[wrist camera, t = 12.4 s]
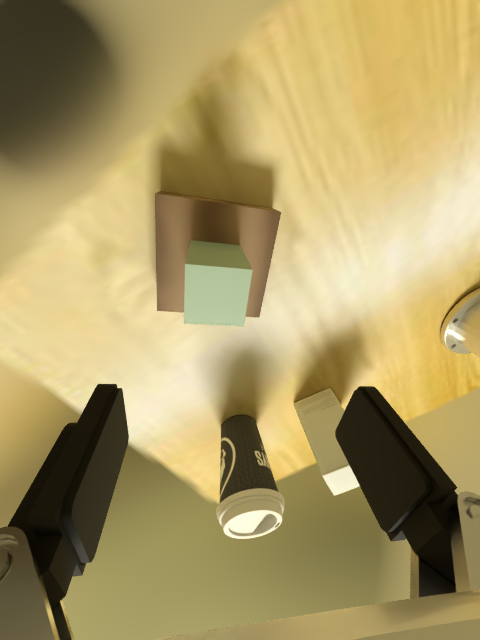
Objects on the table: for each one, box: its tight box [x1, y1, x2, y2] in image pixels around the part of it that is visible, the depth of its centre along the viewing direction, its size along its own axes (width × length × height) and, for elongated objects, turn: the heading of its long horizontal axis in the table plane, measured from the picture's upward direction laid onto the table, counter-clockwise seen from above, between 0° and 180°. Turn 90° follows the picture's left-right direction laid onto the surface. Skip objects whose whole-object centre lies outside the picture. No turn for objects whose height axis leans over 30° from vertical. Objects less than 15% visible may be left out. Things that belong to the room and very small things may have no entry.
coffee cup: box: [216, 415, 284, 539], centre depth 39 cm, size 10×10×15 cm
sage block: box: [184, 240, 252, 326], centre depth 23 cm, size 5×5×8 cm
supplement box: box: [294, 388, 360, 495], centre depth 40 cm, size 7×7×13 cm
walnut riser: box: [155, 192, 281, 317], centre depth 28 cm, size 12×12×4 cm
